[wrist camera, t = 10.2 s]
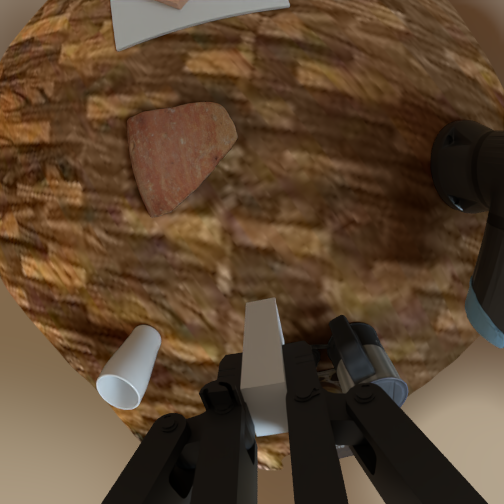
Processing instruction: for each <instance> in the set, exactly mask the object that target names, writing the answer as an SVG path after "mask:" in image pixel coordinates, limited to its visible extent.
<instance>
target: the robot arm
mask: <svg viewBox="0 0 504 504" xmlns="http://www.w3.org/2000/svg"><path fill="white" fill-rule="evenodd" d="M431 172H432V178H433V181H434V184H435V187H436V189H437V191H438V193H439V195H440V196H441V198H442V199H443V200H444V201H445V202H446V203H447V204H448V205H449V206H450V207H452V208H454V209H456V210H459V211H462V212H465V213H479V212H484V211H489V214H488V219H487V223H486V227H485V232H484V236H483V240H482V244H481V248H480V251H479V255H478V259H477V262H476V266H475V269H474V272H473V275H472V276H471V278H470V287H469V291H468V294H467V297H466V301H465V310H466V313H467V317H468V319H469V321H470V323H471V324H472V326H473V327H474V328H475V330H476V331H477V332H478V333H479V334H480V335H481V336H483V337H484V338H485V339H486V340H487V341H489V342H490V343H492V344H493V345H495V346H497V347H499V348H504V131H494V130H492V129H490V128H488V127H486V126H484V125H482V124H480V123H478V122H475V121H470V120H462V121H455V122H452V123H450V124H448V125H446V126H445V127H444V128H443V129H442V130H441V131H440V132H439V134H438V136H437V137H436V139H435V142H434V145H433V148H432V153H431ZM199 395H200V397H201V399H202V402H203V404H204V406H205V408H206V411H205V412H204V413H202V414H200V415H198V416H195V417H191V418H188V419H185V417H184V416H182V415H181V414H178V413H169V414H166V415H163V416H161V417H160V418H158V419H157V420H156V421H155V422H154V424H153V425H152V427H151V428H150V430H149V432H148V433H147V435H146V436H145V438H144V439H143V441H142V442H141V444H140V445H139V447H138V449H137V450H136V451H135V453H134V455H133V456H132V458H131V459H130V461H129V462H128V464H127V465H126V467H125V468H124V470H123V471H122V473H121V474H120V476H119V477H118V479H117V481H116V482H115V484H114V485H113V487H112V488H111V490H110V491H109V493H108V494H107V496H106V497H105V499H104V500H103V502H102V503H101V504H257V444H256V441H255V432H256V435H257V436H265V435H272V434H279V433H285V432H289V443H290V454H291V465H292V476H293V488H294V501H295V504H348V499H347V494H346V490H345V485H344V480H343V475H342V471H341V466H340V462H339V457H338V453H337V448H336V445H348V447H349V448H350V450H351V452H352V453H353V455H354V456H355V458H356V459H357V461H358V462H359V464H360V465H361V467H362V468H363V470H364V472H365V473H366V475H367V476H368V477H369V479H370V481H371V482H372V484H373V485H374V487H375V488H376V490H377V491H378V493H379V494H380V496H381V497H382V499H383V500H384V502H385V503H386V504H488V503H487V502H486V501H485V500H484V499H483V498H482V496H481V495H480V494H479V493H478V492H477V491H476V490H475V489H474V488H473V487H472V486H471V484H470V483H469V482H468V481H467V480H466V479H465V478H464V477H463V476H462V475H461V474H460V472H459V471H458V470H457V469H456V468H455V467H454V466H453V465H452V464H451V463H450V462H449V461H448V459H447V458H446V457H445V456H444V455H443V454H442V453H441V452H440V451H439V450H438V448H437V447H436V446H435V445H434V444H433V443H432V442H431V441H430V440H429V439H428V438H427V437H426V435H425V434H424V433H423V432H422V431H421V430H420V429H419V428H418V427H417V426H416V425H415V424H414V422H413V421H412V420H411V419H410V418H409V417H408V416H407V415H406V414H405V413H404V412H403V410H402V409H401V408H400V407H399V406H398V405H397V404H396V403H395V402H394V401H393V400H392V398H391V397H390V396H389V395H388V394H387V393H386V392H385V391H384V390H383V389H382V388H381V387H380V386H378V385H377V384H374V383H360V384H357V385H355V386H353V387H352V388H350V389H349V391H348V392H347V393H332V392H329V391H327V390H325V389H324V388H323V387H322V386H321V384H320V382H319V378H318V374H317V370H316V366H315V362H314V358H313V354H312V350H311V346H310V345H309V344H308V343H306V342H305V341H299V342H294V343H289V344H284V338H283V333H282V328H281V324H280V319H279V314H278V310H277V305H276V300H275V297H274V298H269V299H264V300H259V301H254V302H248V303H246V313H245V328H244V342H243V352H242V353H236V354H230V355H225V357H224V358H223V359H222V361H221V362H220V365H219V372H218V378H217V380H215V381H212V382H210V383H208V384H206V385H205V386H204V387H203V388H202V389H201V390H200V392H199Z"/></svg>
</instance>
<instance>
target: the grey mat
mask: <svg viewBox="0 0 504 504" xmlns="http://www.w3.org/2000/svg"><path fill="white" fill-rule="evenodd" d="M110 2H111V11H112V20H113V28H114V36H115V43H116V50H117V51H118V52H119V51H121V50H124V49H126V48H129V47H132V46H134V45H137V44H139V43H142V42H145V41H148V40H150V39H153V38H156V37H159V36H162V35H165V34H168V33H171V32H175V31H178V30H181V29H185V28H188V27H192V26H195V25H199V24H203V23H207V22H211V21H215V20H220V19H224V18H229V17H233V16H238V15H244V14H249V13H255V12H261V11H267V10H274V9H282V8H289V7H290V4H289V1H288V0H188V2H187V3H186V4H185V5H184V6H183V8H182V9H181V10H180V9H177V8H174V7H172V6H169V5H166V4H164V3H161V2H158V1H155V0H110Z"/></svg>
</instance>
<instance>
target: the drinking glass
mask: <svg viewBox="0 0 504 504" xmlns="http://www.w3.org/2000/svg"><path fill="white" fill-rule="evenodd" d="M160 345H161V337H160V334H159V333H158V332H157V330H156V329H154V328H153V327H151V326H148V325H139V326H137V327H136V328H134V330H133V331H132V333H131V334H130V335H129V337H128V338H127V339H126V340H125V342H124V343H123V344H122V345H121V346H120V347H119V349H118V350H117V351H116V352H115V353H114V355H113V356H112V357H111V358H110V359H109V361H108V362H107V364H106V365H105V367H104V368H103V370H102V371H101V373H100V375H99V377H98V379H97V381H96V387H97V390H98V392H99V394H100V395H101V397H102V398H103V399H104V400H105V401H106V402H108V403H109V404H111V405H112V406H114V407H117V408H120V409H125V410H129V409H134V408H136V407H137V406H138V405H139V403H140V401H141V399H142V397H143V395H144V393H145V391H146V388H147V386H148V383H149V379H150V376H151V372H152V369H153V366H154V362H155V359H156V356H157V353H158V350H159V348H160Z"/></svg>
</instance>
